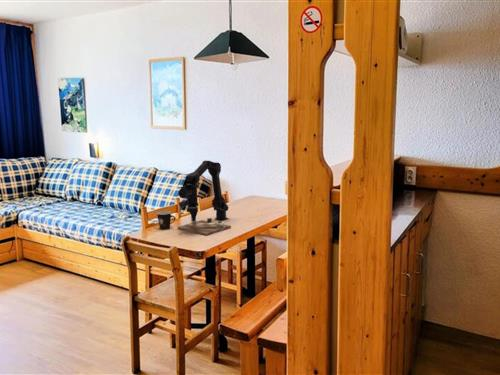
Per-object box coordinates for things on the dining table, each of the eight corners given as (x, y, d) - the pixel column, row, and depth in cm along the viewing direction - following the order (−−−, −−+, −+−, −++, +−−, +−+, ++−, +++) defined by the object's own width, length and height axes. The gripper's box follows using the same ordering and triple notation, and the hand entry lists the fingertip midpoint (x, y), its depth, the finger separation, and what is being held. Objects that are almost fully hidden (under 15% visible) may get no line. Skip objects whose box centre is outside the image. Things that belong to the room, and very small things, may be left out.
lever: (223, 224, 275) (223, 211, 273) (223, 226, 270) (223, 212, 269) (191, 226, 273) (191, 212, 272) (191, 227, 269) (190, 214, 267)
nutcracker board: (201, 222, 292) (201, 215, 292) (230, 228, 276) (230, 221, 275) (177, 229, 277) (177, 222, 276) (206, 235, 260) (206, 228, 259)
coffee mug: (155, 228, 280) (154, 213, 278) (167, 225, 286) (166, 210, 284) (164, 231, 271) (163, 216, 270) (176, 229, 277) (175, 213, 275)
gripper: (180, 193, 277) (181, 217, 279) (178, 198, 259) (179, 224, 261) (198, 192, 278) (199, 216, 280) (197, 198, 260) (198, 223, 262)
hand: (193, 220), depth 271 cm, fingers open, 4 cm apart
